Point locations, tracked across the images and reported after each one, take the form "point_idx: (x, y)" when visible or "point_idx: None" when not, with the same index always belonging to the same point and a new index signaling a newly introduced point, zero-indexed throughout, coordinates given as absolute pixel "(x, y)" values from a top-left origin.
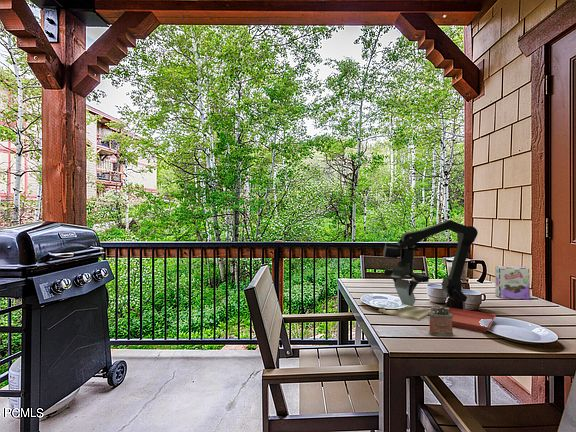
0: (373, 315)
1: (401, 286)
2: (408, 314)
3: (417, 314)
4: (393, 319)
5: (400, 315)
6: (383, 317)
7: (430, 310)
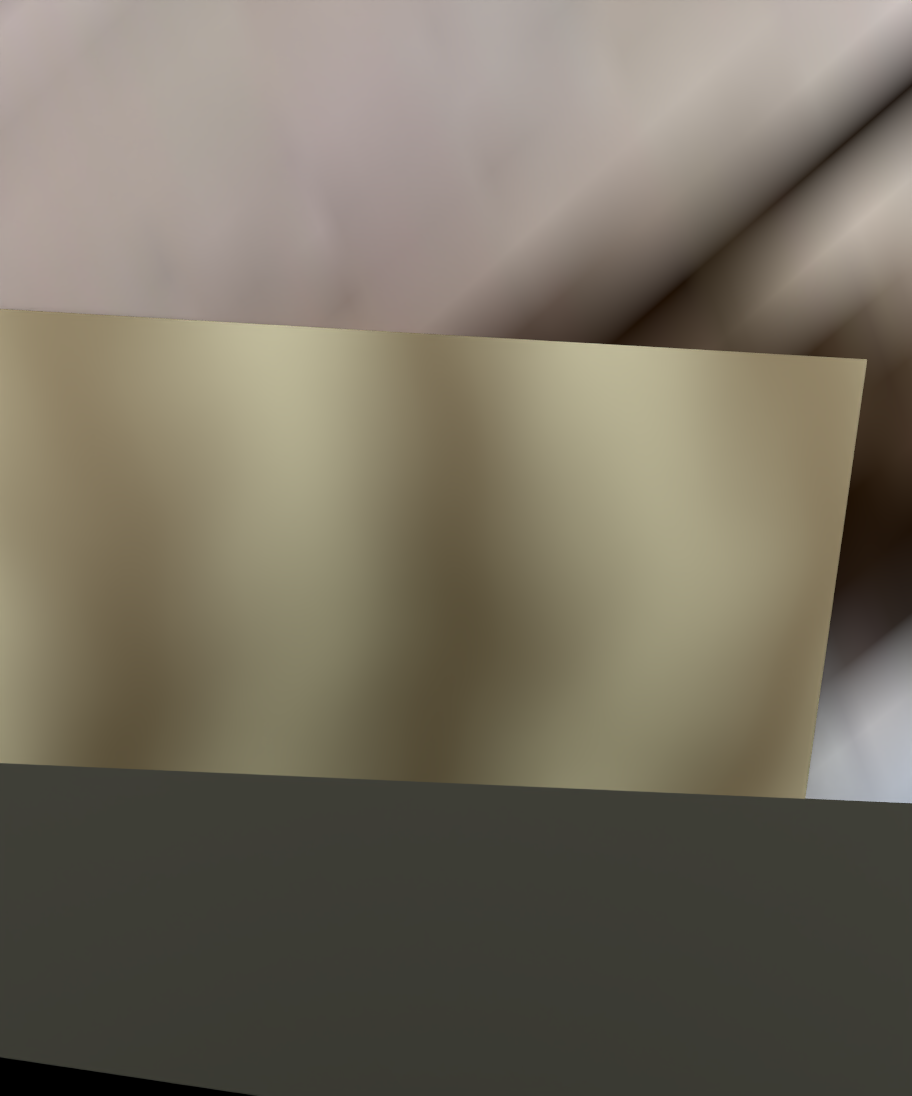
0: (834, 36)
1: (327, 779)
2: (218, 436)
3: (74, 565)
4: (393, 42)
5: (357, 333)
6: (613, 39)
7: None
